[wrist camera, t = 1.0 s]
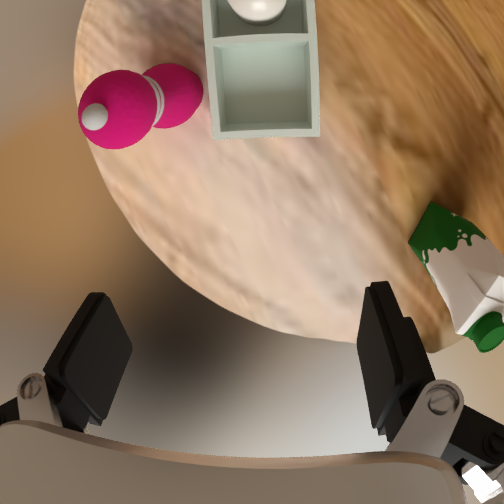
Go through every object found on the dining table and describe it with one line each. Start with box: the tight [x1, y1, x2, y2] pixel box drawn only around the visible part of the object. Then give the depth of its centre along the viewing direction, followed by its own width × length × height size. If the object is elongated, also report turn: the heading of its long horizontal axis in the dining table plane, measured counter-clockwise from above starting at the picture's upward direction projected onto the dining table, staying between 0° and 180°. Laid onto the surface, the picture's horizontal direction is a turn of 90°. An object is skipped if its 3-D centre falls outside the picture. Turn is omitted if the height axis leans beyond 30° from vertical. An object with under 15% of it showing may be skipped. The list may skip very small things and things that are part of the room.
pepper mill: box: [78, 63, 203, 149], centre depth 24 cm, size 7×7×20 cm
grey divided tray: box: [201, 0, 320, 140], centre depth 27 cm, size 20×11×6 cm, turn 4°
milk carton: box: [408, 202, 504, 353], centre depth 31 cm, size 9×9×20 cm
